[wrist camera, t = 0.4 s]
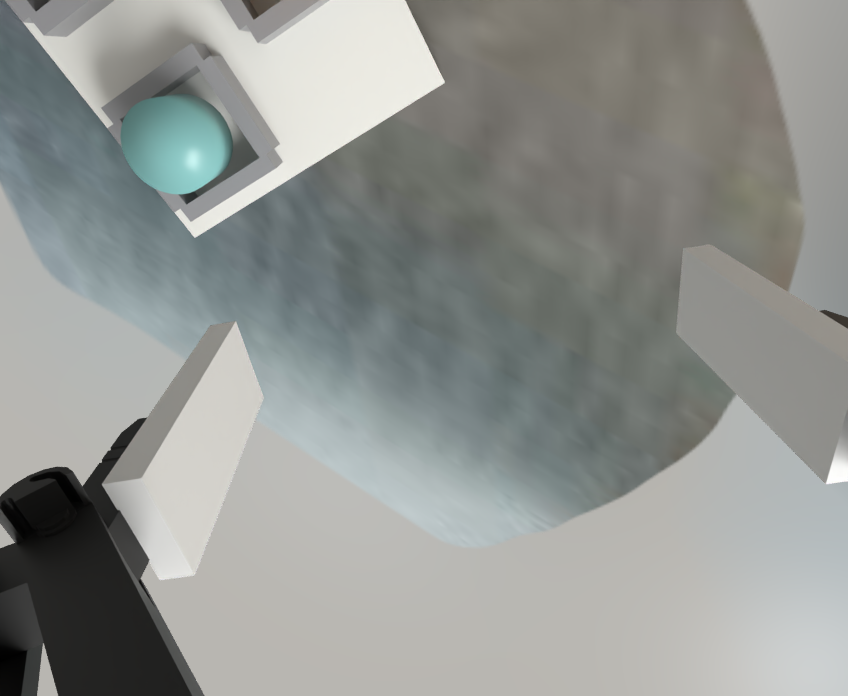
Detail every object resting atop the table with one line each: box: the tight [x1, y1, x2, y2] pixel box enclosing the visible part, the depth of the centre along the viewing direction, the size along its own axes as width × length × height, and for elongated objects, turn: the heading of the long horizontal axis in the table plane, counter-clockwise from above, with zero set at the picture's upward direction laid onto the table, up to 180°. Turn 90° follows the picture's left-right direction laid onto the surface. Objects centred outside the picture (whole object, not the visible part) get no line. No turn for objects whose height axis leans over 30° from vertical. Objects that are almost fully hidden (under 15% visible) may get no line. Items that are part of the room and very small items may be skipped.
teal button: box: [120, 94, 233, 194], centre depth 31 cm, size 5×5×4 cm
